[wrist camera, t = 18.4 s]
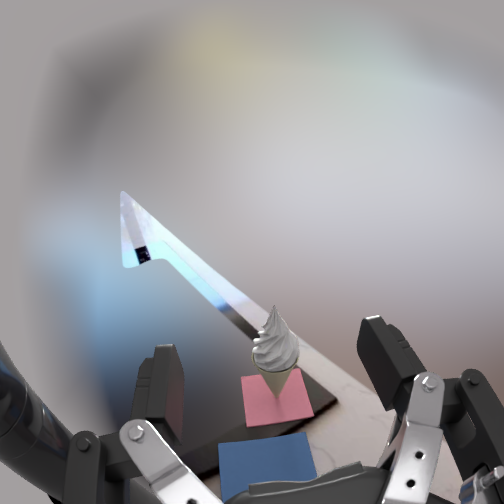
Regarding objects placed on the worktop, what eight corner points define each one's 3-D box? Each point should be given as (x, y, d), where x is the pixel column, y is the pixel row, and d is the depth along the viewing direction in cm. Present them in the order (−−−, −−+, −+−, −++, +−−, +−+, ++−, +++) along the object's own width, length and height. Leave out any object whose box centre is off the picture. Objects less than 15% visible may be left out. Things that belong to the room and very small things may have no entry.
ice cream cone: (275, 420, 31) (272, 331, 24) (248, 396, 34) (234, 305, 27) (305, 396, 33) (312, 303, 26) (277, 375, 37) (273, 283, 30)
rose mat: (247, 427, 30) (246, 426, 30) (241, 378, 37) (240, 376, 37) (313, 416, 31) (313, 415, 31) (299, 369, 38) (299, 368, 38)
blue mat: (223, 513, 20) (223, 512, 20) (218, 444, 28) (217, 443, 28) (322, 498, 21) (323, 498, 21) (305, 432, 29) (305, 431, 29)
